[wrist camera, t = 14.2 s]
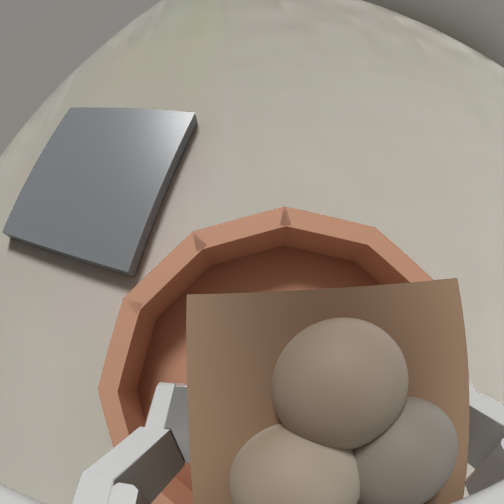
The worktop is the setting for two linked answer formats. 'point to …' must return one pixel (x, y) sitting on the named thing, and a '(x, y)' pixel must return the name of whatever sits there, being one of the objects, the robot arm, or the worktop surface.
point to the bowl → (230, 281)
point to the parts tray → (101, 184)
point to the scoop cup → (328, 395)
